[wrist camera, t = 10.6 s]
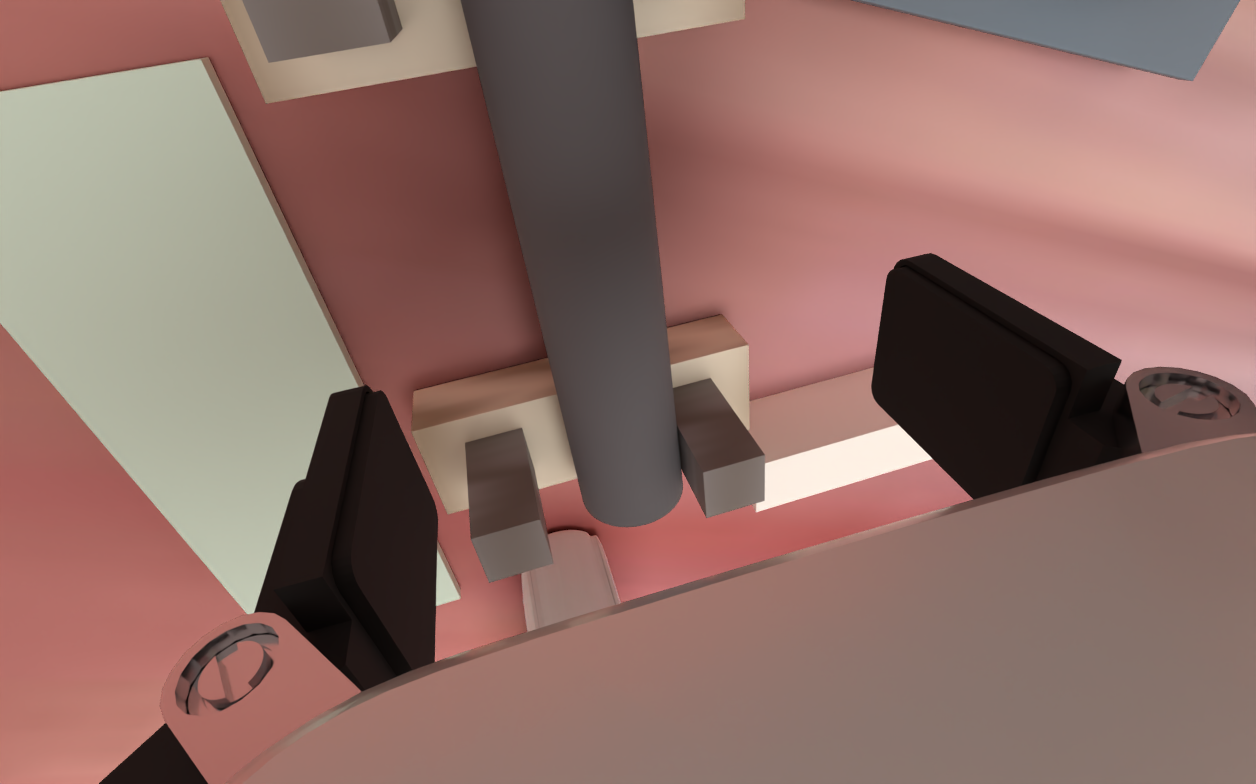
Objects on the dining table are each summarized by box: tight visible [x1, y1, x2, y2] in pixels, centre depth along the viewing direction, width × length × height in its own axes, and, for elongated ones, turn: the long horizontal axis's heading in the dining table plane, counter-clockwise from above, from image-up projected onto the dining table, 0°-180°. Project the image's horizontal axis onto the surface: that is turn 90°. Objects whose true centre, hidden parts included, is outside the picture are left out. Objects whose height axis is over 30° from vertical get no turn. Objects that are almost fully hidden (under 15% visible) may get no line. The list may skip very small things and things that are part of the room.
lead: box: [461, 0, 683, 527], centre depth 16 cm, size 17×4×4 cm, turn 8°
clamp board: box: [220, 0, 765, 583], centre depth 17 cm, size 12×18×7 cm, turn 8°
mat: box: [0, 57, 461, 614], centre depth 21 cm, size 8×22×1 cm, turn 8°
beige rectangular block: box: [749, 367, 932, 512], centre depth 26 cm, size 9×3×4 cm, turn 98°
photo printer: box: [521, 530, 621, 632], centre depth 25 cm, size 10×4×12 cm, turn 0°
